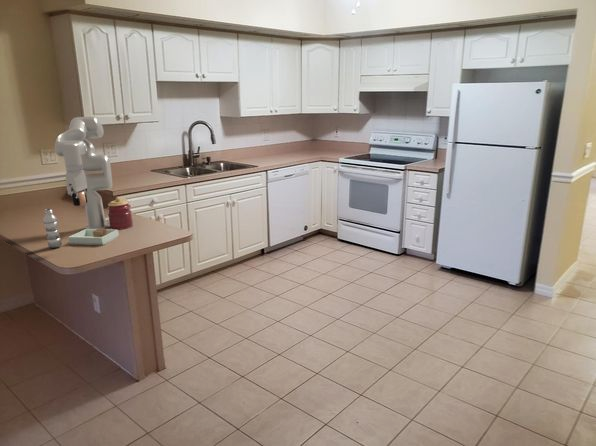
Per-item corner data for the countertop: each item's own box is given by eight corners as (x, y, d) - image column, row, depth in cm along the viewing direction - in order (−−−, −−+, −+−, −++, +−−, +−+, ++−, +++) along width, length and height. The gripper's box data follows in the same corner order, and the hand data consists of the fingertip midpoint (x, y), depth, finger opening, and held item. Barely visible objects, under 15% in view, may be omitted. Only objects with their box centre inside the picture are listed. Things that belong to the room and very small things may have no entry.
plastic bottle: (64, 244, 242) (57, 207, 236) (58, 249, 235) (51, 211, 230) (52, 245, 241) (45, 208, 236) (45, 249, 235) (38, 211, 230)
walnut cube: (99, 237, 249) (98, 228, 248) (108, 237, 248) (106, 228, 247) (94, 240, 244) (92, 231, 243) (102, 240, 243) (101, 231, 242)
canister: (125, 230, 264) (121, 200, 259) (105, 229, 267) (100, 199, 262) (137, 223, 277) (133, 195, 272) (118, 223, 279) (113, 194, 274)
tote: (87, 235, 256) (85, 228, 255) (118, 236, 252) (117, 229, 251) (69, 244, 242) (68, 237, 241) (102, 245, 238) (101, 237, 237)
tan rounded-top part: (79, 204, 235) (77, 190, 233) (88, 204, 234) (86, 190, 232) (73, 206, 230) (71, 193, 228) (82, 207, 229) (80, 193, 227)
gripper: (78, 165, 235) (84, 199, 240) (55, 171, 219) (63, 208, 225) (92, 165, 233) (97, 200, 239) (69, 171, 218) (76, 209, 223)
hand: (80, 203), depth 232 cm, fingers closed on tan rounded-top part, 5 cm apart
